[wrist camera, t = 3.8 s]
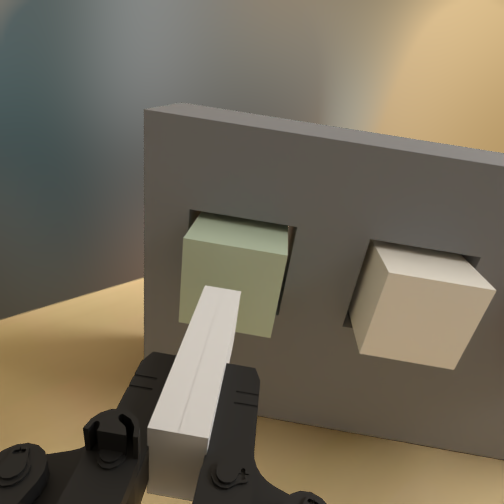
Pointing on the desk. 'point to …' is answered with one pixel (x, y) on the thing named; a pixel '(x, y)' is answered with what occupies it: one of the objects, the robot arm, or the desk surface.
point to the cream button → (417, 304)
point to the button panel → (332, 263)
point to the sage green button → (235, 267)
